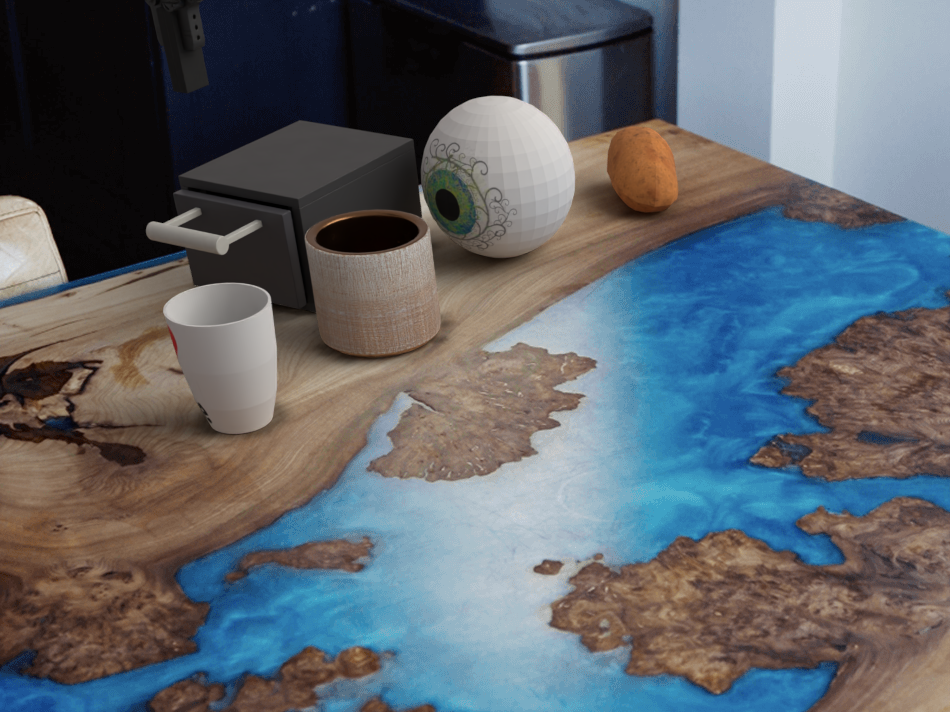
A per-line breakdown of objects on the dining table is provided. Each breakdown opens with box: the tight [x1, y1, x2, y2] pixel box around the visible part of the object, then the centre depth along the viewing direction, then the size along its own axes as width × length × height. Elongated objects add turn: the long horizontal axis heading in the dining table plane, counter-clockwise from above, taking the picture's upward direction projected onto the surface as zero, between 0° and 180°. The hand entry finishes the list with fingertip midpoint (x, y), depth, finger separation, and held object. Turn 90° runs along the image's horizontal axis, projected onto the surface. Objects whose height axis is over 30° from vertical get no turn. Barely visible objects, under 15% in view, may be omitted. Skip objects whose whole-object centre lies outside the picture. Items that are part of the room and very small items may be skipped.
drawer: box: [145, 188, 307, 310], centre depth 133 cm, size 23×13×9 cm, turn 153°
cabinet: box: [178, 119, 423, 314], centre depth 137 cm, size 18×14×11 cm
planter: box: [305, 209, 442, 359], centre depth 124 cm, size 11×11×10 cm
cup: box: [162, 283, 278, 435], centre depth 112 cm, size 8×8×10 cm
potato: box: [606, 125, 679, 213], centre depth 151 cm, size 7×13×7 cm, turn 10°
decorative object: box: [420, 95, 576, 259], centre depth 138 cm, size 15×15×15 cm
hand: (191, 87), depth 119 cm, fingers closed
